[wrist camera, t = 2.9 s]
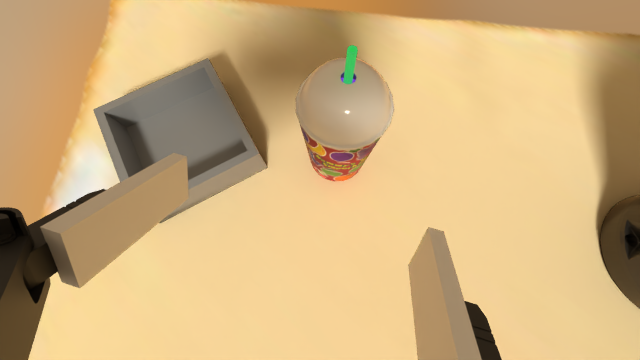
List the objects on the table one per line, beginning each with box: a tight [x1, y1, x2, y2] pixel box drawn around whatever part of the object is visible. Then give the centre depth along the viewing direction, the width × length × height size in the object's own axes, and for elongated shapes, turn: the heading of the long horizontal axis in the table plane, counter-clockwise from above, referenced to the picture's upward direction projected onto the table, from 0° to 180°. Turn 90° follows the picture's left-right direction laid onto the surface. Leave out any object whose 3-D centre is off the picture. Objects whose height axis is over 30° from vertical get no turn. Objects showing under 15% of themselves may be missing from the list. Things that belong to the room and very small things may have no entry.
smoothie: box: [296, 45, 394, 181], centre depth 27 cm, size 8×8×20 cm
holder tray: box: [94, 58, 267, 223], centre depth 35 cm, size 15×15×5 cm
